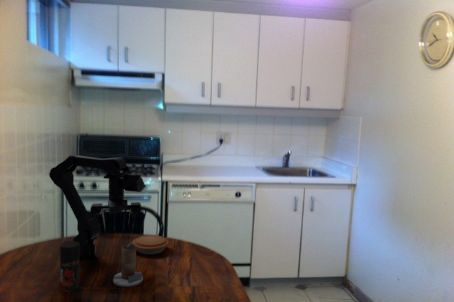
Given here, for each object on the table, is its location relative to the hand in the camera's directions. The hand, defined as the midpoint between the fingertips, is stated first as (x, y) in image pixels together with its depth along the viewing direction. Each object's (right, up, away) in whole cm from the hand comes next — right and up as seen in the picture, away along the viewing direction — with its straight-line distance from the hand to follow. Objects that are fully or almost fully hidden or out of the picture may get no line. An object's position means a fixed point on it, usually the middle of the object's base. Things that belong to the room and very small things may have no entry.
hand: (116, 229), depth 150 cm
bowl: (+8, -15, -14) cm, 23 cm away
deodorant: (-9, -15, -22) cm, 28 cm away
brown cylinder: (+8, -14, -14) cm, 22 cm away
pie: (+10, -12, +16) cm, 22 cm away
